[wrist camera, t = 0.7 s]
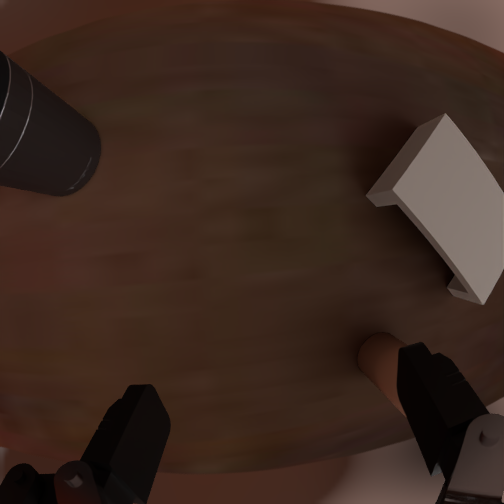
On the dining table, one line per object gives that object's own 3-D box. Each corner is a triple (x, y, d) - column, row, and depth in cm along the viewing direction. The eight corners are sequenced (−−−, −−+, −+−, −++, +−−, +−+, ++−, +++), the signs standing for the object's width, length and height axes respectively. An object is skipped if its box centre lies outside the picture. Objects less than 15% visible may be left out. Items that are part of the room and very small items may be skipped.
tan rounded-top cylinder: (348, 360, 34) (396, 411, 22) (380, 323, 34) (440, 360, 22) (376, 383, 34) (426, 433, 22) (406, 348, 34) (465, 387, 22)
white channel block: (365, 195, 32) (392, 189, 27) (417, 127, 32) (445, 113, 27) (453, 295, 34) (483, 305, 28) (493, 227, 34) (523, 227, 28)
